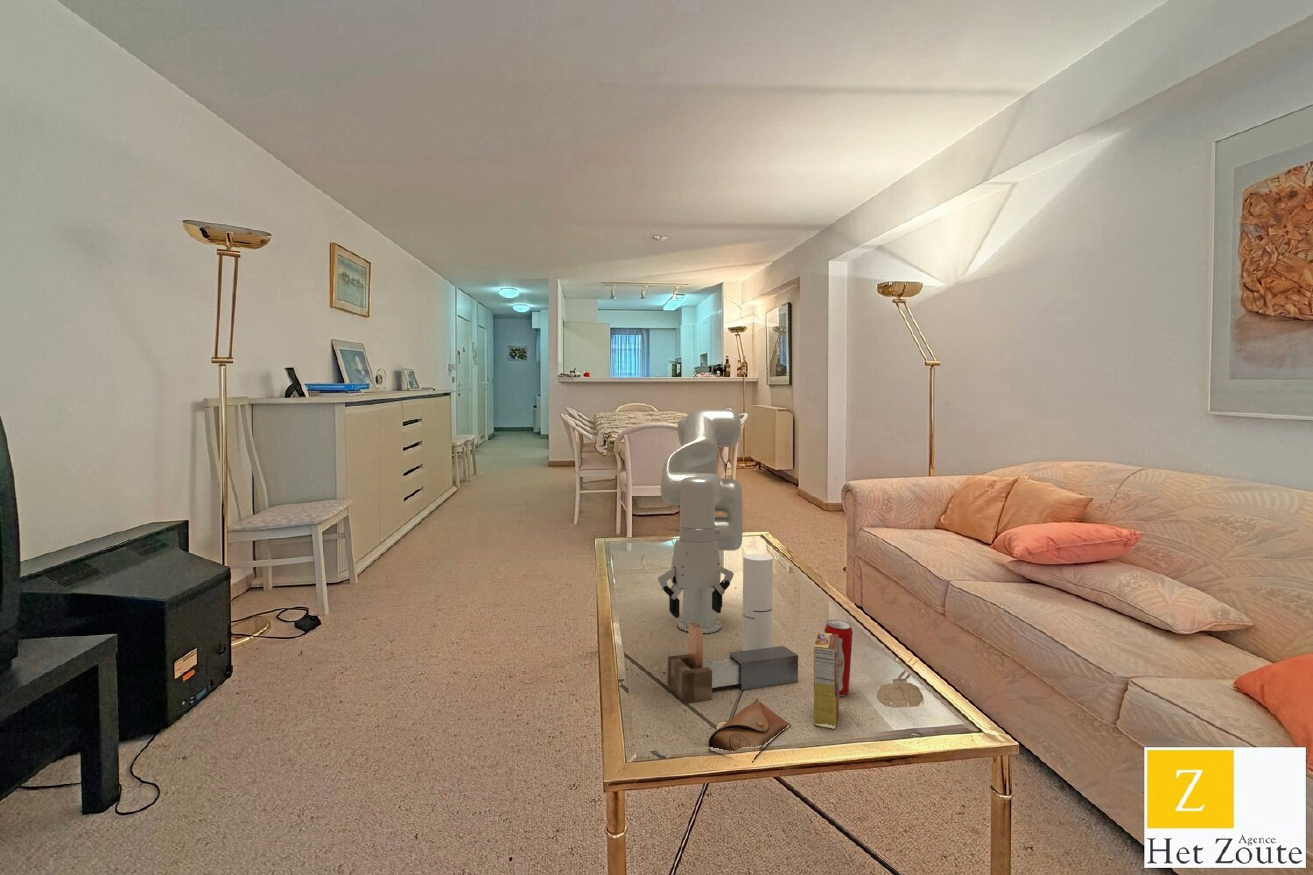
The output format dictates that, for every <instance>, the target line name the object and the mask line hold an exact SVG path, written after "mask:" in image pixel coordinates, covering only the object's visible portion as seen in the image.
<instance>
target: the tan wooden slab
mask: <svg viewBox="0 0 1313 875" xmlns="http://www.w3.org/2000/svg"><path fill="white" fill-rule="evenodd" d="M687 637H688V642H687V643H688V644H687V646H688V649H687V650H688V652H687V654H688V667H689V668H690V669H697V668H705V667H709V668H710V669H711V670H712V689H713V688H719V687H720V688H721V687H726V686H727V687H728V686H733V685H735V684H741V664H740V663H739V662H737V661H736V660H735V659H734V658H733V659H729V658H726V659H719V660H711V661H710V660H709V661H703V658H704V655H703V651H704V649H703V647H704V645H703V644H704V643H703V641H704V634H703V628H702V627H701V626H700V625H698V624H697V623H696V622H693V623H689V632H688V636H687ZM735 686H736V685H735Z"/></svg>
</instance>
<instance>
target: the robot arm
mask: <svg viewBox="0 0 1313 875" xmlns="http://www.w3.org/2000/svg"><path fill="white" fill-rule="evenodd" d="M741 434H742V421H741V417H740V415H739V414H738V413H737V412H736V411H735V410H733V409H726V408H725V409H720V408H719V409H717V408H715V409H713V408H709V409H708V408H702V409H701V408H699V409H695V410H693V411H691V412H689V413H688V415H687V416H686V417H684V418H682V419H680V420H679V421H678V424H677V436H678V440H679V444H680V446H679V447H678V448H677V449H675V450H674V451H673V452H671V454H669V456H667V458H666V459H665V461H664V463H663V468H662V472H661V480H660V495H661V496H660V497H661V499H662V500H663V502H664V503H665V504H666V505H669V506H679V539H676V540H675V541H674V547H673V551H672V559H671V569H669V570H668V571H666V572H664V573H663V574H661V575H659V576H658V577H657V581H658V583H659V585H660V587H661V590H662V591H664V592H665V594H666V595H667V596H668V597H669V598H668V599H669V601H668V602H669V603H668V606H669V608H668V610H669V613H670V614H671V615H672V616H673V617H674V618H675V619H678V618H679V617H680V603H681V602H680V599H679V598H678V597H679V595H680V594H681V593H682V609H681V610H682V617H681V618H679V619H678V620H677V622H676V626H677V625H678V627H679V628H680V629H679V628H678V627H677V628H678V629H679V630H681V629H682V630H681V631H683V630H686V631H689V623H693V622H696V623H697V624H698V625H700V626H701V627H702V628H703V633H705V634H711V633H712V634H713V633H715V632H716V633H717V632H718V631H719V629H720V628H722V622H721V621H720V620H719V619H717V614H721V612H722V607H723V595H725V593H726V590H727V589H728V587H730V585H731V582H732V580H733V578H734V574H735V573H734V572H733V571H731V570H729V569H727V568H725V567H723V566H721V556H720V551H730V552H731V551H732V552H733V551H737V550H739V549H740V548H741V546H742V543H743V533H744V532H743V531H744V530H743V490H742V486H741V483H740V482H739V481H738V480H736V479H733V478H721V476H720V475H717V461H716V457H717V455H718V448H732V447H733V448H734V447H736V446H737V445H738V443H739V441H740V438H741ZM718 512H719V513H721V512H722V513H725V514H726V516H716V513H718ZM721 574H723V575H724V576H723V577H724V578H723V579H721V577H722V576H721ZM668 581H670V582H671V584H672V585H671V587H669V585H668ZM720 630H721V629H720ZM686 631H685V632H686Z"/></svg>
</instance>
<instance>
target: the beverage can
mask: <svg viewBox="0 0 1313 875" xmlns="http://www.w3.org/2000/svg"><path fill="white" fill-rule="evenodd" d="M823 633H830V634H837V635H838V650H839V696H842V697H845V695H846V694H847V695H848V694H849V691H850V680H851V679H850V677H851V676H850V675H851V664H852V651H853V650H852V649H853V648H852V647H853V633H854V632H853V629H852V625H851V623H850V622H847V621H845V620H841V619H829V620H827V621H826V624H825V627H824V631H823ZM847 695H846V696H847Z"/></svg>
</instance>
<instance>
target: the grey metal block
mask: <svg viewBox="0 0 1313 875" xmlns="http://www.w3.org/2000/svg"><path fill="white" fill-rule="evenodd" d="M733 658H734V659H735V660H736V661H737V662H739V663H740V664H741V684H735V686H736V687H737V688H739V689H740V690H741V691H746V690H753V689H754V690H755V689H759V688H767V687H773V686H774V687H775V686H780V685H787V684H794V683H798V682H799V681H798V680H799V654H798V653H796V652H794V651H792V650H791V649H789V648H788V647H786V646H784V645H782V646H781V645H779V646H774V647H771V648H763V649H755V650H747V651H742V650H740V651H731V652H729V658H728V659H733Z"/></svg>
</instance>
